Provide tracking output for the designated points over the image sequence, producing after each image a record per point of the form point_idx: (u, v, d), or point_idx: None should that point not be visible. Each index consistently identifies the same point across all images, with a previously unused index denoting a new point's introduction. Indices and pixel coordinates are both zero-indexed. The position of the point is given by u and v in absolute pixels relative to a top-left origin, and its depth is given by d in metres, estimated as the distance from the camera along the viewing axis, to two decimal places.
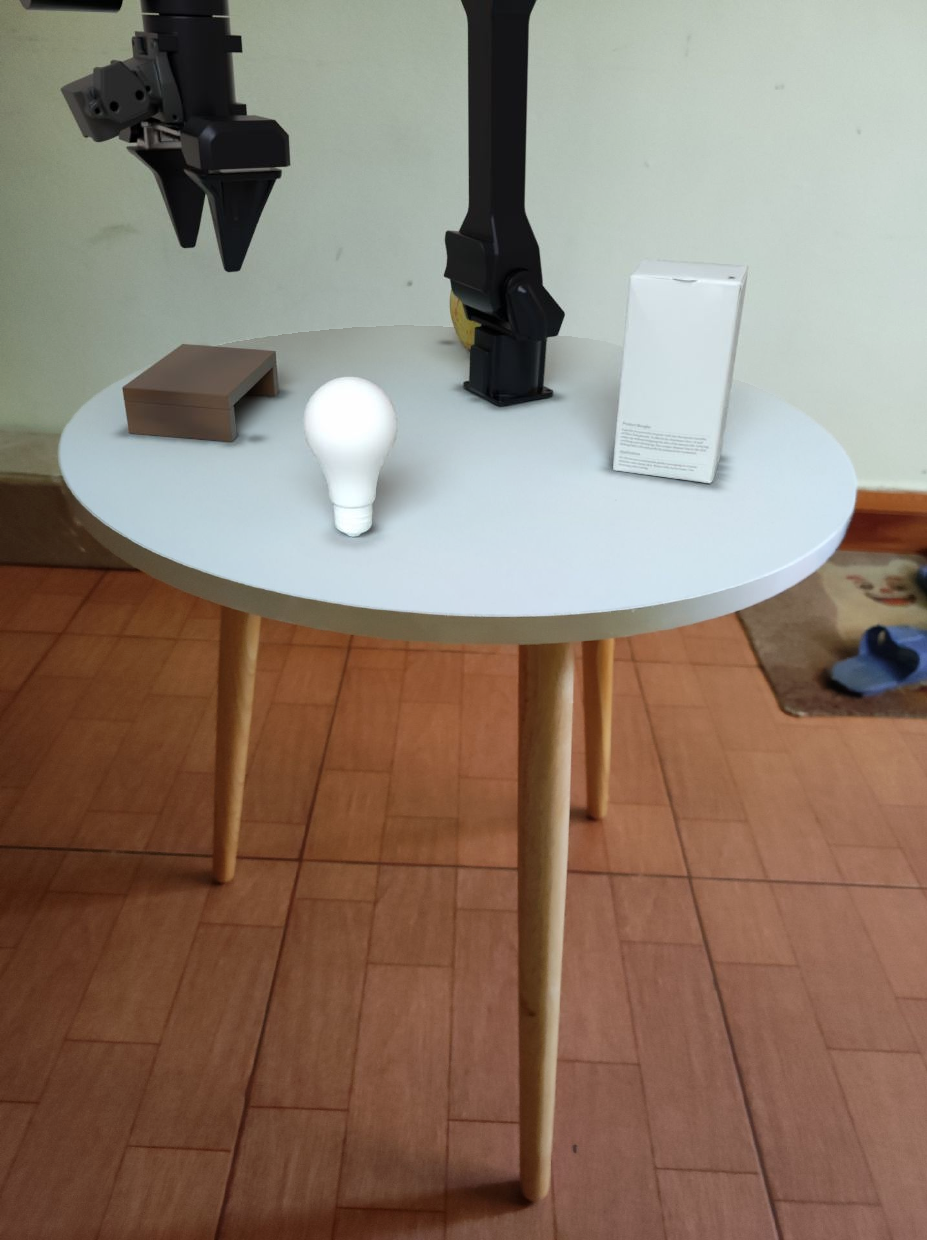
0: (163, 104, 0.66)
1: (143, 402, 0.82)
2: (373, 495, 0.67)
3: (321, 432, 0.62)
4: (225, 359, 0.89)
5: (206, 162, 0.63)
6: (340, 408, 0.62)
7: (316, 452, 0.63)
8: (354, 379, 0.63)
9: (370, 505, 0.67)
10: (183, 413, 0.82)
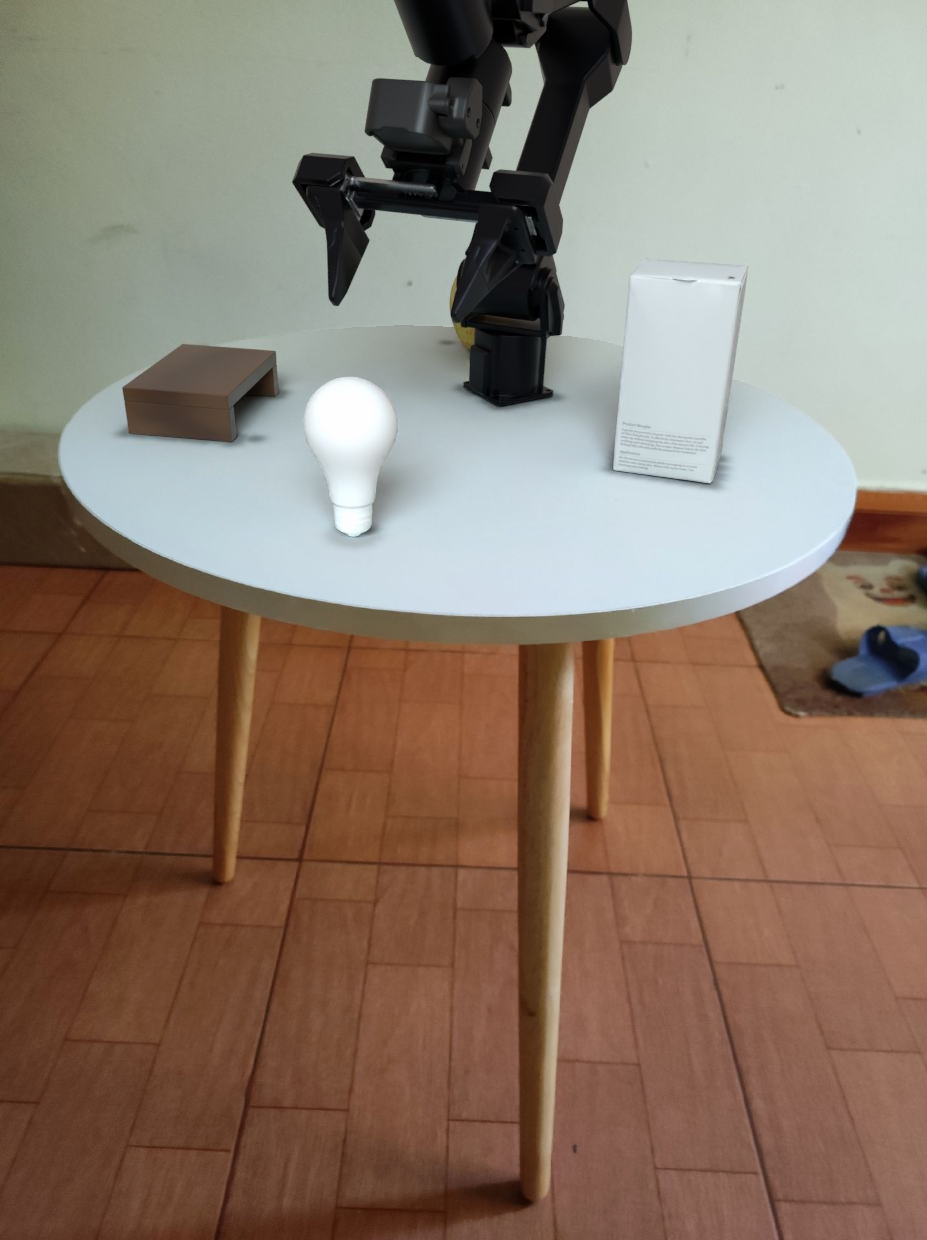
0: (462, 150, 0.66)
1: (143, 402, 0.82)
2: (373, 495, 0.67)
3: (321, 432, 0.62)
4: (225, 359, 0.89)
5: (540, 198, 0.64)
6: (340, 408, 0.62)
7: (316, 452, 0.63)
8: (354, 379, 0.63)
9: (370, 505, 0.67)
10: (183, 413, 0.82)
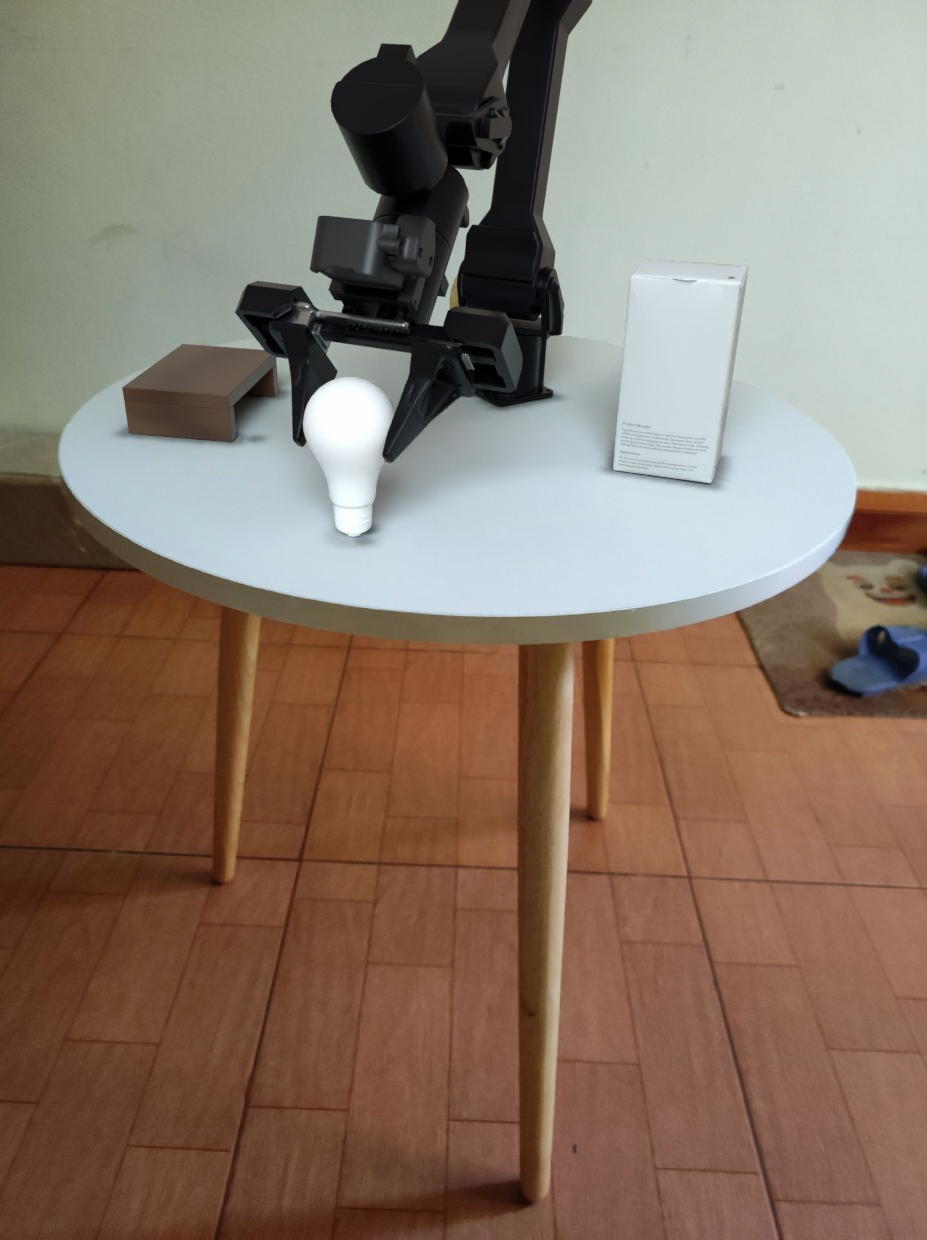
0: (415, 285, 0.63)
1: (143, 402, 0.82)
2: (373, 495, 0.66)
3: (321, 432, 0.62)
4: (225, 359, 0.89)
5: (497, 340, 0.61)
6: (340, 408, 0.62)
7: (316, 452, 0.63)
8: (354, 379, 0.63)
9: (370, 505, 0.67)
10: (183, 413, 0.82)
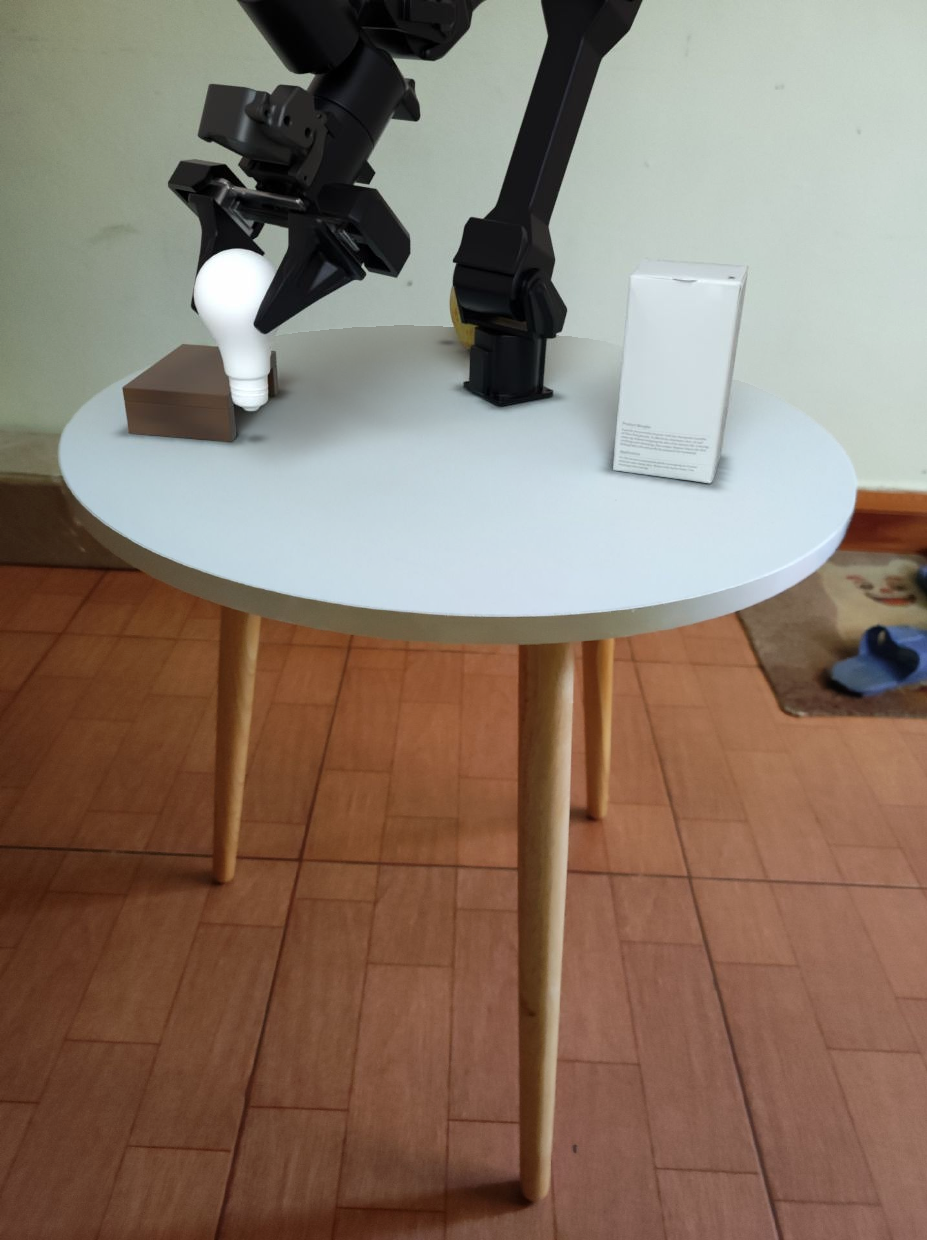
0: (304, 161, 0.64)
1: (143, 402, 0.82)
2: (261, 370, 0.69)
3: (199, 297, 0.65)
4: None
5: (357, 214, 0.60)
6: (215, 274, 0.64)
7: (201, 318, 0.66)
8: (240, 250, 0.65)
9: (260, 380, 0.69)
10: (183, 413, 0.82)
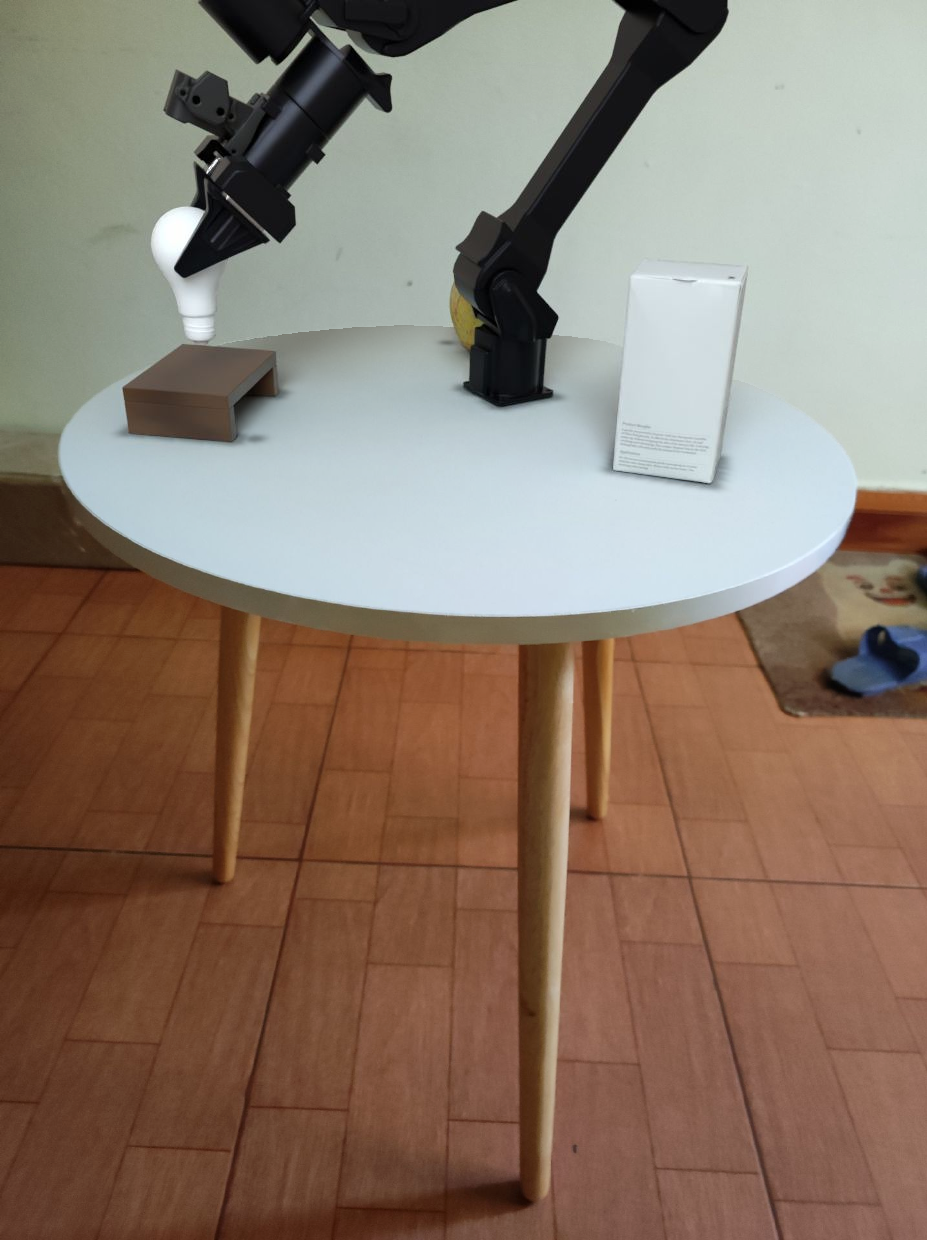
0: (233, 136, 0.75)
1: (143, 402, 0.82)
2: (198, 310, 0.82)
3: None
4: (225, 359, 0.89)
5: (221, 181, 0.71)
6: (158, 224, 0.79)
7: None
8: (186, 207, 0.79)
9: (199, 319, 0.82)
10: (183, 413, 0.82)
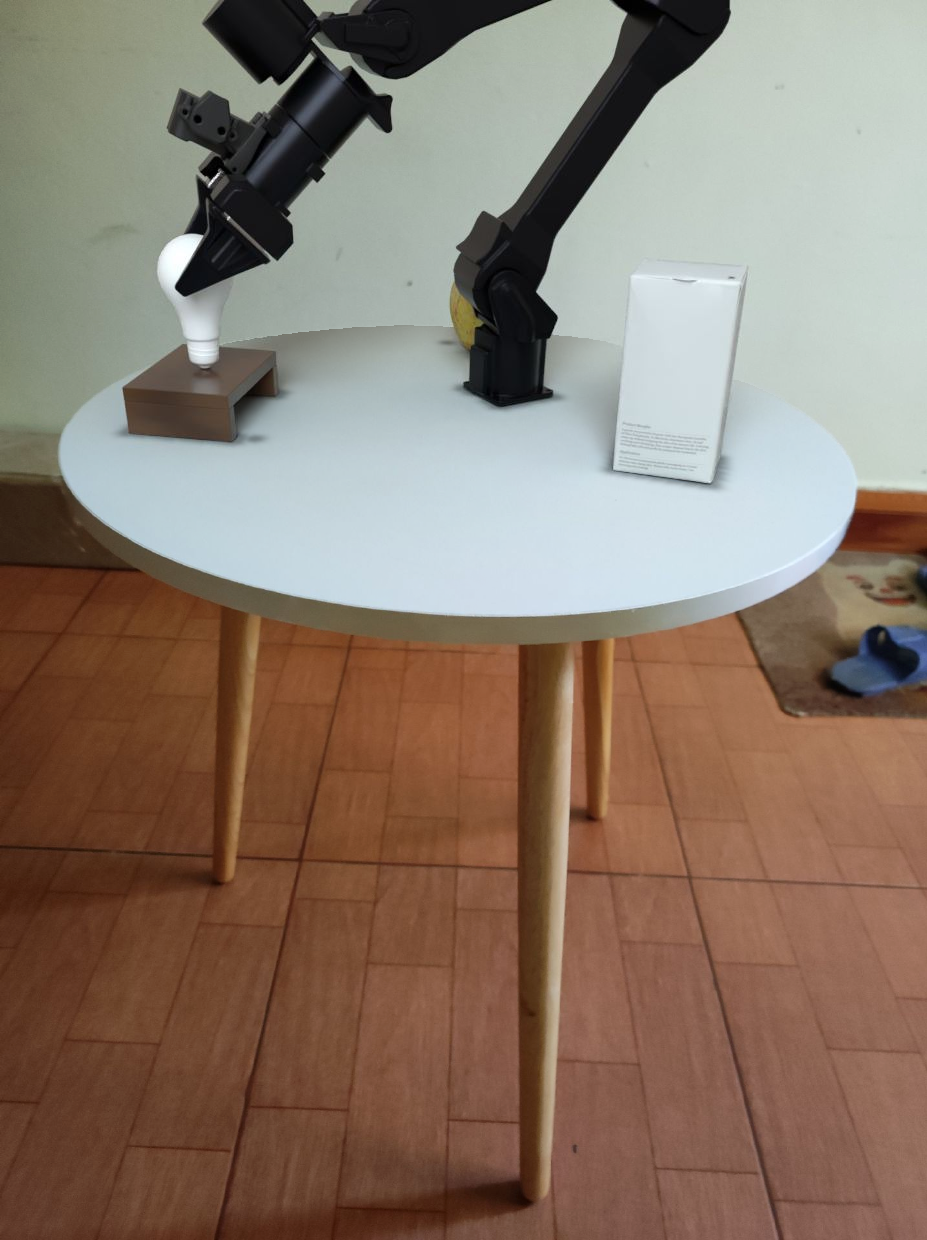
0: (234, 155, 0.76)
1: (143, 402, 0.82)
2: (201, 334, 0.83)
3: None
4: (225, 359, 0.89)
5: (220, 199, 0.72)
6: (164, 250, 0.80)
7: None
8: (192, 235, 0.81)
9: (202, 343, 0.84)
10: (183, 413, 0.82)
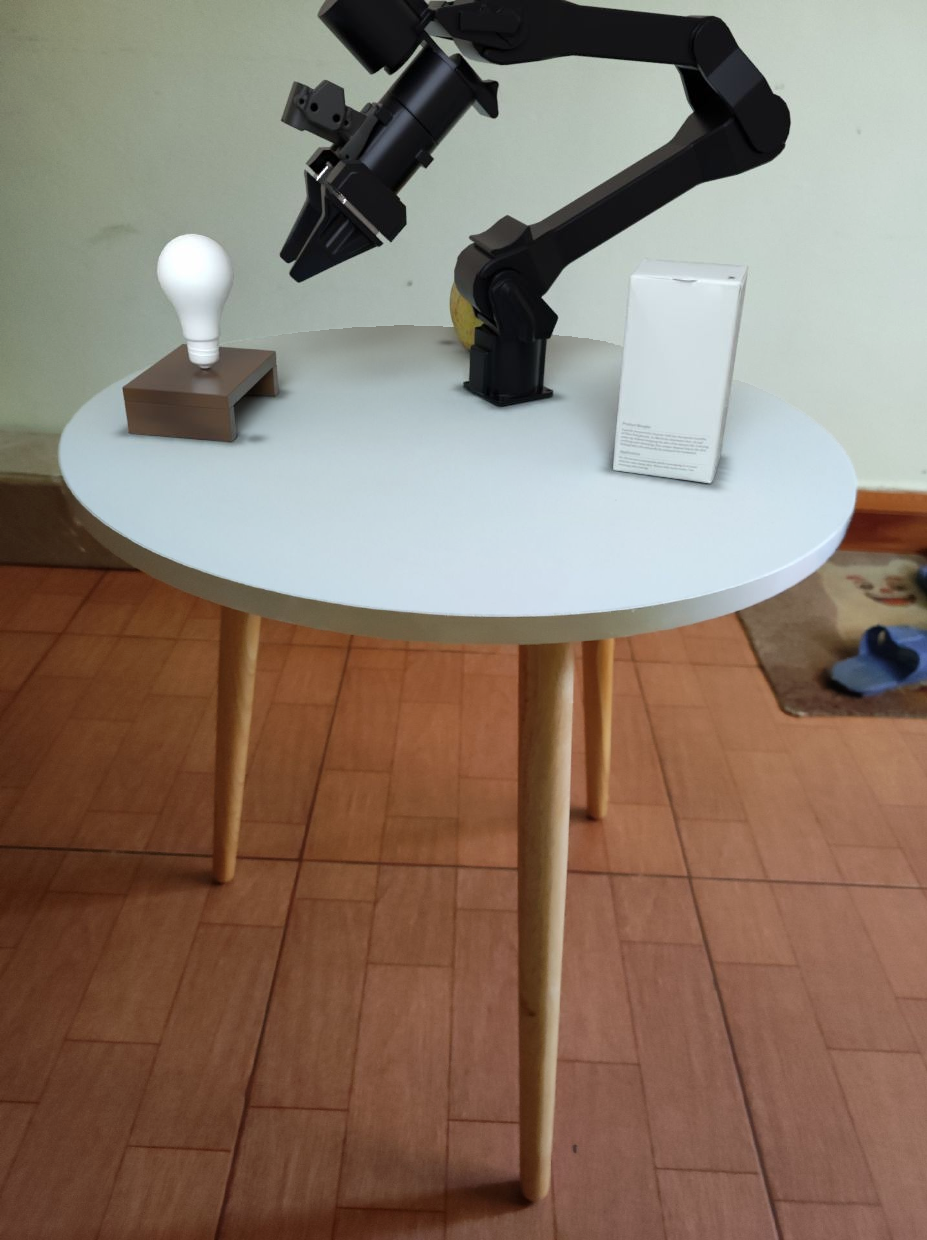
0: (347, 142, 0.78)
1: (143, 402, 0.82)
2: (201, 334, 0.83)
3: None
4: (225, 359, 0.89)
5: (337, 182, 0.74)
6: (164, 250, 0.80)
7: None
8: (192, 235, 0.81)
9: (202, 343, 0.84)
10: (183, 413, 0.82)
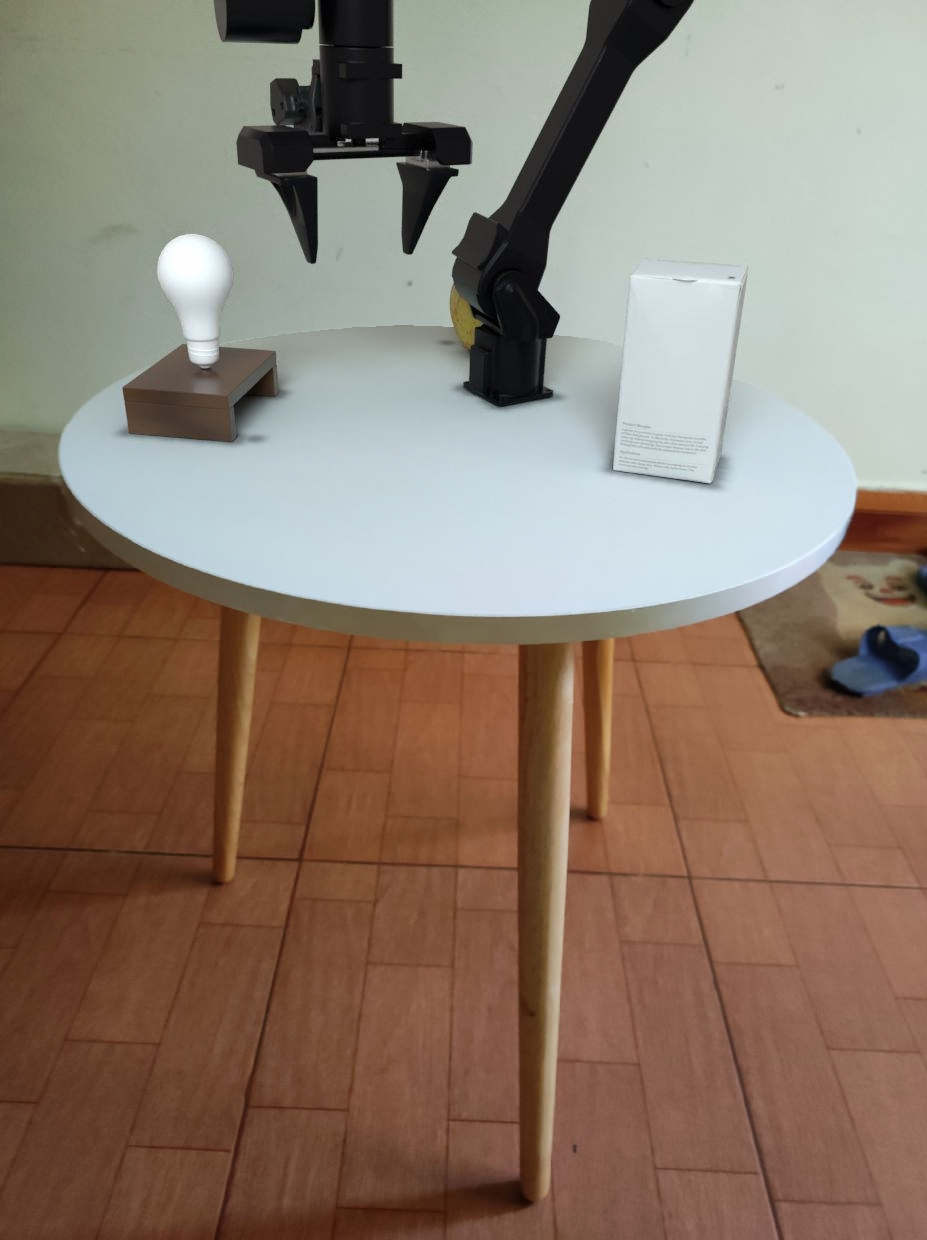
0: (308, 116, 0.80)
1: (143, 402, 0.82)
2: (201, 334, 0.83)
3: None
4: (225, 359, 0.89)
5: None
6: (164, 250, 0.80)
7: None
8: (192, 235, 0.81)
9: (202, 343, 0.84)
10: (183, 413, 0.82)
